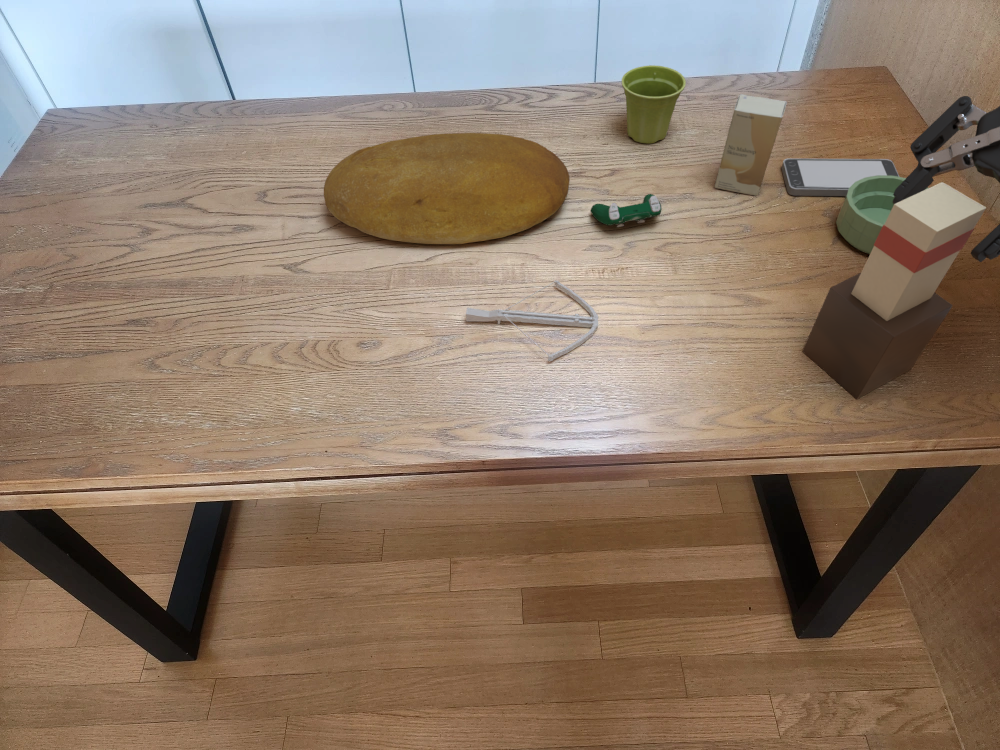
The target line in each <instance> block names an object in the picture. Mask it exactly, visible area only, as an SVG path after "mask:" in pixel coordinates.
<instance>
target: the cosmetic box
mask: <svg viewBox="0 0 1000 750" xmlns="http://www.w3.org/2000/svg"><path fill="white" fill-rule="evenodd" d="M787 104H788V102H787V101H786V100H780V99H773V98H768V97H765V96H754V95H748V94H742V93H739V95H738V96H737V99H736V103H735V106H734V109H733V113H732V117H731V121H730V124H729V128H728V133H727V137H726V139H725V144H724V147H723V152H722V154H721V155H722V156H721V160H720V164H719V167H718V172H717V175H716V179H715V183H714V188H715V189H718V190H724V191H729V192H734V193H739V194H745V195H749V196H755V197H757V196H758V195H759V193H760V190H761V186H762V183H763V181H764V177H765V174H766V170H767V167H768V165H769V161H770V159H771V155H772V152H773V149H774V146H775V143H776V140H777V136H778V133H779V130H780V126H781V125H782V124H781V123H782V120H783V117H784V114H785V110H786V108H787Z"/></svg>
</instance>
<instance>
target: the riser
mask: <svg viewBox="0 0 1000 750" xmlns="http://www.w3.org/2000/svg"><path fill="white" fill-rule="evenodd" d="M860 274H861V272H858V273H857V274H855V275H853V276H851V277H848V278H847V279H845V280H842V281H841V282H839V283H837V284H834V285H832V286H831V287H829V289H828V292H827V294H826V297H825V298H824V301H823V303H822V305H821V307H820V310H819V312H818V315H817V317H816V319H815V321H814V324H813V326H812V328H811V330H810V332H809V335H808V337H807V339H806V342H805V343H804V346H803V348H802V353H804V354H805V355H806V356H807V357H808V358H809V359H811V360H812V362H814V363H815V365H817V366H818V367H819V368H821V369H822V370H823V371H824V372H825V373H826V374H827V375H829V377H831V378H832V379H833V380H834V381H835V382H836V383H838V384H839V385H840V386H841V387H842V388H843V389H844V390H846V391H847V392H848V393H849V394H850V395H851V396H852V397H853V398H855V399H856V400H858V399H860V398H862V397H864V396H865V395H868V394H870V393H871V392H873V391H875V390H876V389H878V388H881V387H882V386H884V385H886V384H887V383H889V382H890V381H893V380H895V379H896V378H898V377H900V376H902V375H904V374H906V373H907V372H909V371H912V368H913V367H914V365H915V364H916V363H917V362H918V359H919V358H920V357H921V355H922V353H923V352H924V351H925V349H926V348H927V346H928V344H929V343H930V341H931V339H933V336H935V334H936V332H937V330H938V329H939V327H940V326H941V324H942V323H943V321H944V320H945V319H946V317H947V315H949V314H948V313H949V312H950V311H951V309H952V308H953V304H952V303H951V302H949V301H948V300H946V299H945V298H943V297H942V296H940V295H939V294H938V293H937V292H936V291H935V292H934V294H933V295H932V297H931V298H930V299H928V300H927V301H925V302H923V303H921V304H919V305H917V306H915V307H913V308H911V309H909V310H907V311H905V312H904V313H902V314H900V315H898V316H896V317H894V318H892V319H890V320H888V321H886V320H885V319H883V318H882V317H881V316H879V315H878V314H877V313H875V312H874V311H873V310H872V309H870V308H869V307H868V306H866V305H865V304H864V303H862V302H861V301H860V300H859V299H857V298H856V297H855V296H853V295H852V294H851V293H852V291H853V289H854V287H855V285H856V283H857V281H858V278H859V276H860Z"/></svg>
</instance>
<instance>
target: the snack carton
mask: <svg viewBox="0 0 1000 750" xmlns="http://www.w3.org/2000/svg"><path fill="white" fill-rule="evenodd" d="M986 209H987V206H985V205H983V204H981V203H980V202H978V201H976V200H975V199H973V198H971V197H969V196H967V195H966V194H964V193H963V192H961V191H959V190H957V189H956V188H954V187H953V186H950V185H949V184H947V183H945V182H943V181H941V182H939V183H937V184H935V185H932V186H931V187H928V189H926V190H924V191H922V192H919V193H917V194H915V195H913V196H911V197H909V198H906V199H904V200H902V201H900V202H898V203H896V204H894V206H893V208H892V210H891V212H890V214H889V216H888V218H887V220H886V222H885V224H884V225H883V227H882V229H881V231H880V233H879V235H878V237H877V239H876V241H875V243H874V247H873V249H872V251H871V253H870V254H869V256H868V257H867V259H866V262H865V264H864V265H863V268H862V270H861V272H860V273H861V274H860V276H859V278H858V281H857V283H856V285H855V287H854V289H853V291H852V293H851V294H852V295H853V296H855V297H856V298H857V299H859V300H860V301H861V302H862V303H864V304H865V305H866V306H868V307H869V308H870V309H872V310H873V311H874V312H875V313H877V314H878V315H879V316H881V317H882V318H883V319H885V320H886V321H888V320H890V319H892V318H894V317H896V316H898V315H900V314H902V313H904V312H905V311H907V310H909V309H911V308H913V307H915V306H917V305H919V304H921V303H923V302H925V301H927V300H928V299H930V298H931V297H932V295H933V294H934V292H935V293H936V292H937V291H936V290H937V289H938V288H939V286H940V284H941V282H942V281H943V280H944V277H945V276H946V275H947V273H948V271H949V269H950V268H951V266H952V265H953V263H954V261H955V260H956V258H957V256H958V255H959V253H960V252H961V251H962V250H963V249H964V247H965V245H966V243H967V242H968V240H969V238H970V237H971V235H972V234H973V232H974V231H975V227H976V226H977V224H978V222H979V221H980V220H981V218H982V216H983V214H984V213H985V211H986Z"/></svg>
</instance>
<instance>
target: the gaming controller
mask: <svg viewBox="0 0 1000 750" xmlns="http://www.w3.org/2000/svg"><path fill="white" fill-rule="evenodd" d="M661 212H662V203H661V201H660V200H659V198H658V197H657V195H654V194H652V193H648V194H646V195H644V197H643V200H642V202H641V203H637V204H636V203H635V204H630V205H626V206H619V205H618V204H617V203H615V202H611V204H610V205H606V204H604V203H595V204H593V205H592V206H591V208H590V213H591V215H592V216H593V217H594V219H596V220H597V221H598V222H600V223H602V224H604V225H606V226H612V225H614V226H616V228H621V227H624V226H625V223H627V222H631V221H635V222H636V223H637V224H643V223H645V221H646V219H649V218H654V217H658V216H660V215H661Z"/></svg>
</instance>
